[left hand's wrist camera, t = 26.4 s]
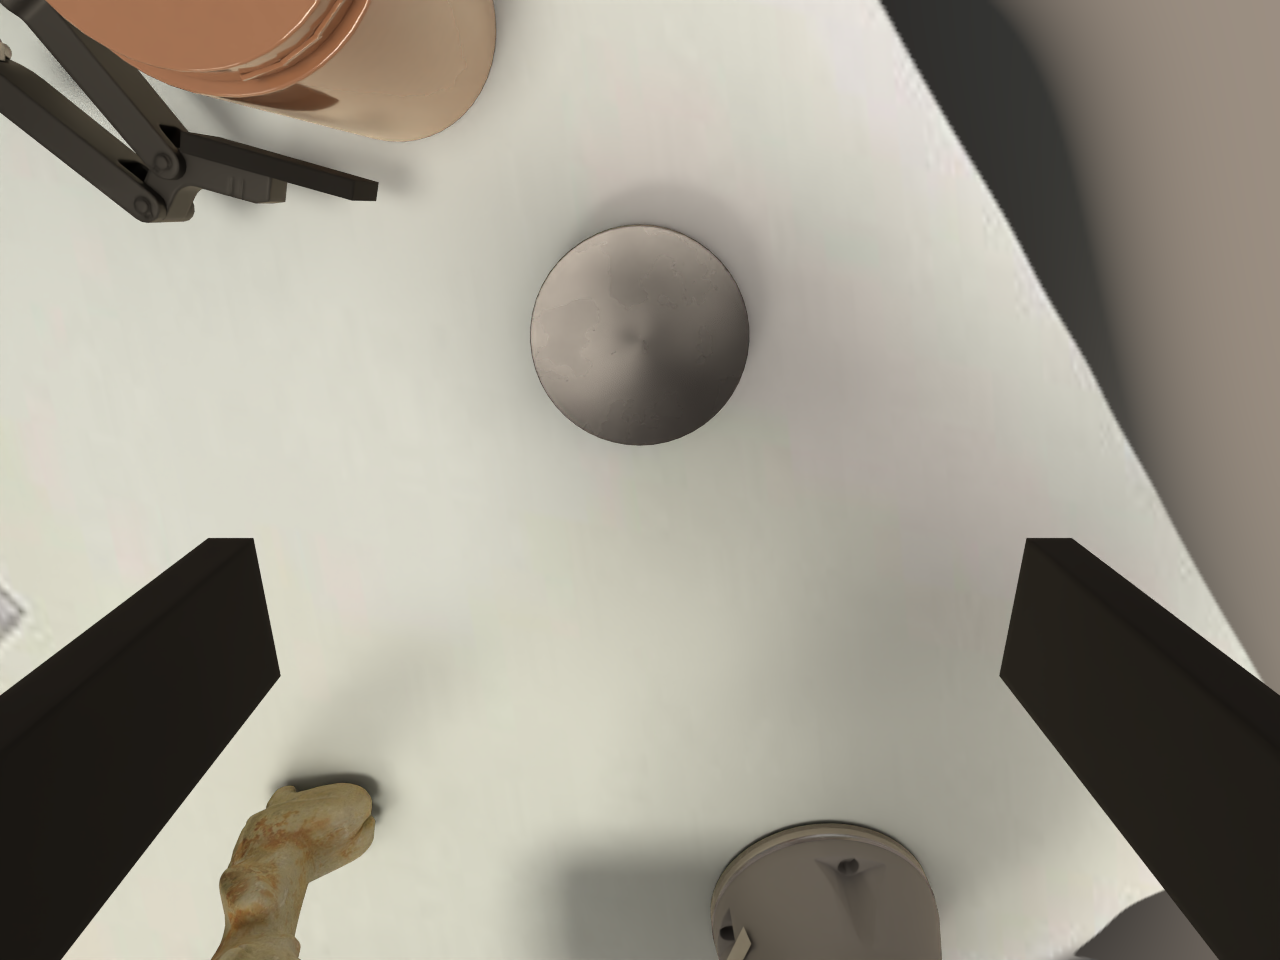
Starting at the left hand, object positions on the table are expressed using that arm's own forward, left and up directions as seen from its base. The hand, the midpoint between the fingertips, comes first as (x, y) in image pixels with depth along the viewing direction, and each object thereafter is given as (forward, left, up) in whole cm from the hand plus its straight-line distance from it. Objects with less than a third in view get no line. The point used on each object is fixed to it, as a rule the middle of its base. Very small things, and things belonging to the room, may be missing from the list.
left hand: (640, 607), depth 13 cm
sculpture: (-11, +35, -27) cm, 45 cm away
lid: (0, 0, -25) cm, 25 cm away
